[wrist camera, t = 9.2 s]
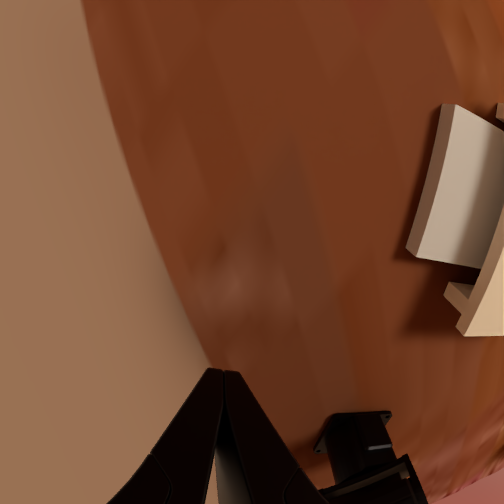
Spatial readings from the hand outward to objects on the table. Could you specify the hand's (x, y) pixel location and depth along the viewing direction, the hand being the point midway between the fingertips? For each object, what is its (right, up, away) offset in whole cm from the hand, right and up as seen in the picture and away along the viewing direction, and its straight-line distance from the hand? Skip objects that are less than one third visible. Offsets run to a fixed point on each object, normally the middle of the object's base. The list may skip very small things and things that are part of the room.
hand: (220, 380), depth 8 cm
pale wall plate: (+19, +7, +11) cm, 23 cm away
